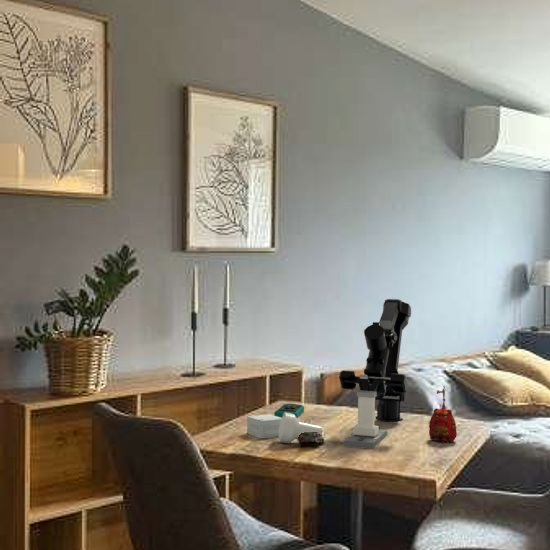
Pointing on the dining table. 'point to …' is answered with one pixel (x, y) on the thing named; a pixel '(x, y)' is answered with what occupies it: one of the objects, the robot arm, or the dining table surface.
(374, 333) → the robot arm
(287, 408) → the digital multimeter
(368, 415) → the fader tab
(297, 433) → the spotlight
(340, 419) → the dining table surface
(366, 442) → the fader console
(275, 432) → the small box
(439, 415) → the red clay folk toy
